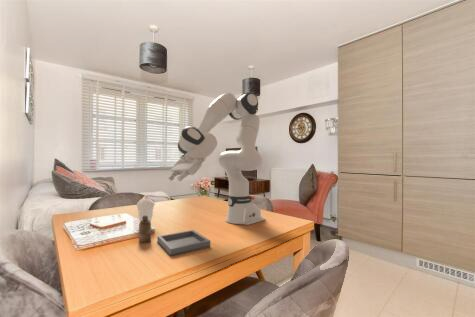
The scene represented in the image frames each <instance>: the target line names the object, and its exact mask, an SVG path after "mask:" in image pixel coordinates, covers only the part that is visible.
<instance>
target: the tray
mask: <svg viewBox="0 0 475 317" xmlns="http://www.w3.org/2000/svg"><path fill="white" fill-rule="evenodd" d="M156 239H157V244H158V245H159V246H160V247H161V248H163V250H164V251H165V253H167V254H168V255H169V256H170V257H173V256H177V255H181V254H186V253H190V252H193V251H199V250H203V249H207V248H208V249H209V248H210V247H211V240H210V239H209V238H207V237H206V236H204V235H203V234H201V233H199V232H198V231H196V230H194V229H189V230H185V231H178V232H173V233H168V234H162V235H161V234H160V235H157V238H156Z"/></svg>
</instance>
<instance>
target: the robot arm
mask: <svg viewBox="0 0 475 317" xmlns="http://www.w3.org/2000/svg"><path fill="white" fill-rule="evenodd" d="M258 108H259V100H258V97H257V95H256V94H254V93H253V92H246V93H243V95H241V96H239V97H238V98H236V96H235V95H234V94H233V93H231V92H225V93H223V94H221V95H218V97H217V98H215V99H214V100H212V102H211V103H210V104H209V106H208V107H207V109H206V110H205V114H204V115H203V116H204V117H203V118H202V120H201V122H200V124H199V125H197V127H195V126H194V125H188V126H185V127H183V128H182V130H181V134H180V137H179V140H178V143H177V148H178V151H179V152H180V153H182V154H183V155H181V156H180V157H179V160H177V162H175V164H174V165H172V167H171V169H170V172H171V174H170V176H169V177H168V180H169V181H170V182H171V181H174V180H175V177H176V176H178V177H177V181H179V182H182V181H183V180H184V179H185V178H187V177H188V176H193V175H196V174H197V172H198V171H199V170H200V168H201V167H202V166H203V163H204V162H206V159H207V158H209V156H210V155H211V154H212V153H214V151H215V150H216V148H217V146H218V140H217V138H216V136H215V135H214V134H213V133H211V131H212V130H213V129H214V128H215V127H216V126H217V125H218V124H220V123H221V122H222V121H224V119H226V118H227V117H228V116H229V117H230V118H231V119H232V120H235V121H239V120H241V123H240V126H239V129H238V132H237V136H236V139H235V140H236V143H237V145H239V146H240V147H241V148H240V150H239V149H238V150H236V149H235V150H226V151H221V153H220V154H219V157H218V163H219V166H220V167H221V168H222V169H223V170H224V171H225V172H224V173H225V174H226V176H227V180H228V196H227V197H228V198H227V203H228V208H227V212H226V217H225V222H226V223H228V224H233V225H246V226H248V225H252V224H255V223H256V224H257V223H260V222H263V221H265V220H266V218H265V217H264V216H263V215H262V213H261V209H260V208H259V206H257V205H256V204H255V203H253V201H254V200H255V199H256V197H255V195H254V196H253V195H250V182H249V179H248V178H246V177H245V176H244V175H243V173H242V171H243V172H244V171H245V172H246V171H247V172H248V171H250V172H251V171H257V170H258V169H260V167H261V165H262V163H263V162H262V160H263V158H262V156H261V154H260V153H259V152H258V151H257V149H256V142H257V137H258V134H259V130H260V123H261V122H260V117H259V116H258V115H257V113H258V111H259V109H258Z"/></svg>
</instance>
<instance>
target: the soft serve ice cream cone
mask: <svg viewBox="0 0 475 317" xmlns="http://www.w3.org/2000/svg"><path fill="white" fill-rule="evenodd" d="M155 205H156V204H155V201H153V200H152V198H151V197H150V195H148V194H144V196H143V197H142V198H140V199H139V201H137V203H136V206H137V211H138V219H139V222H140V221H141V220H143V219H142V217H143V216H145V215H146V216H148V220H150V222H151V223H152V218H153V216H154V215H153V213H154V207H155Z"/></svg>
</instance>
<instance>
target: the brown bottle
mask: <svg viewBox="0 0 475 317" xmlns="http://www.w3.org/2000/svg"><path fill="white" fill-rule="evenodd" d="M142 219H143V220H141V221H140V220H139V224H138V243H140V244H148V243H149V242H151V241H152V239H151V238H152V236H151V235H152V221H151V222H150V220H148V216H146V215H145V216H143V217H142Z"/></svg>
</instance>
